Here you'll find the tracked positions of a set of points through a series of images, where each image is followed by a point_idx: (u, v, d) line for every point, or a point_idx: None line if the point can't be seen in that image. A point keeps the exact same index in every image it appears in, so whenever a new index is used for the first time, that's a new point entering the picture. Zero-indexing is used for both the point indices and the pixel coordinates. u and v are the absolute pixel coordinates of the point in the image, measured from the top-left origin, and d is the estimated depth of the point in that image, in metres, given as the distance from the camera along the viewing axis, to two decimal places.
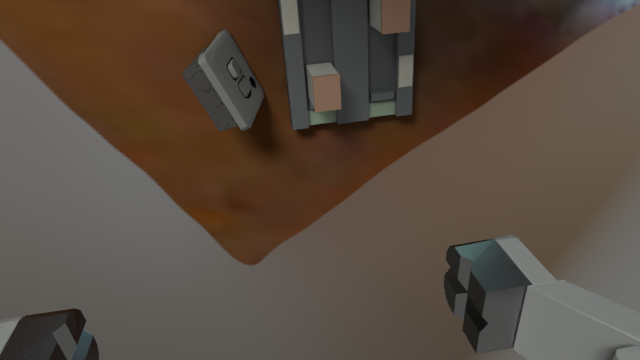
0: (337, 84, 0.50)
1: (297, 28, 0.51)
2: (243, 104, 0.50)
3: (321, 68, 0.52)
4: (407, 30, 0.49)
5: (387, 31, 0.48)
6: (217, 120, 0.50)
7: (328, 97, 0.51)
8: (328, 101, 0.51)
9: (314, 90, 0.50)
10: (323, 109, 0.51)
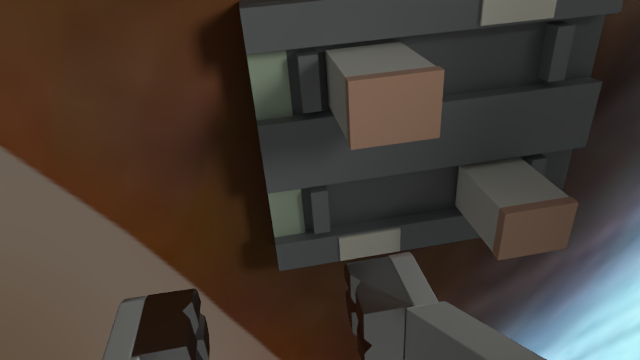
0: (416, 133, 0.20)
1: (490, 21, 0.23)
2: None
3: None
4: (500, 256, 0.24)
5: (508, 222, 0.23)
6: None
7: (385, 114, 0.19)
8: (375, 115, 0.19)
9: (410, 76, 0.18)
10: (355, 103, 0.18)
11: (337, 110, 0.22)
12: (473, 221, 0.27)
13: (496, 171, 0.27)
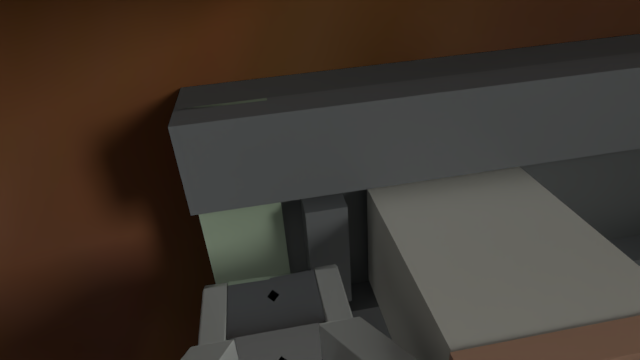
0: None
1: None
2: None
3: None
4: None
5: None
6: None
7: None
8: None
9: (636, 355, 0.06)
10: None
11: (398, 335, 0.10)
12: None
13: None
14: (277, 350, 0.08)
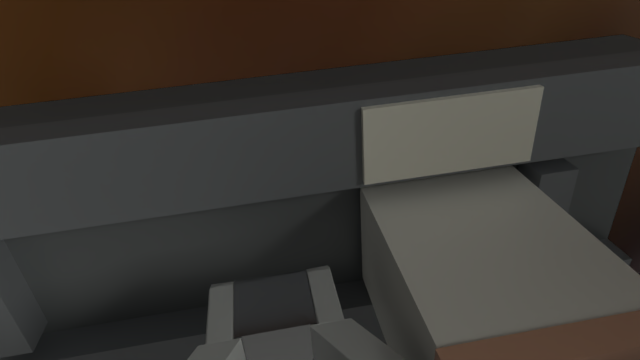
0: None
1: (386, 173, 0.10)
2: None
3: None
4: None
5: None
6: None
7: None
8: None
9: (620, 353, 0.07)
10: None
11: (390, 332, 0.10)
12: None
13: None
14: (283, 349, 0.08)
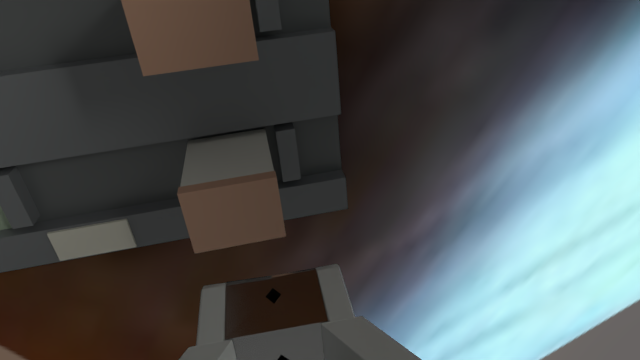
0: (226, 54, 0.16)
1: None
2: None
3: None
4: (196, 248, 0.19)
5: (186, 205, 0.18)
6: None
7: (178, 27, 0.15)
8: (165, 28, 0.15)
9: None
10: (134, 12, 0.15)
11: None
12: None
13: (221, 145, 0.22)
14: (274, 350, 0.08)
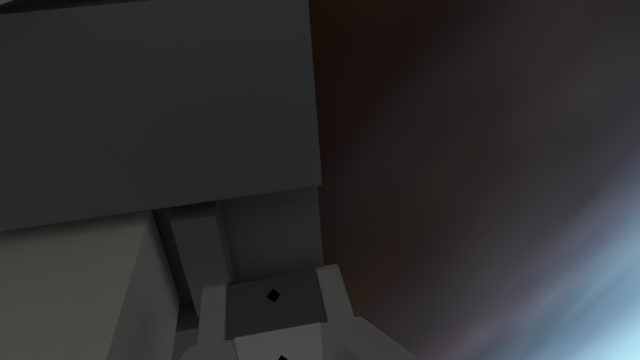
0: None
1: None
2: None
3: None
4: None
5: None
6: None
7: None
8: None
9: None
10: None
11: None
12: None
13: (27, 261, 0.09)
14: (275, 350, 0.08)
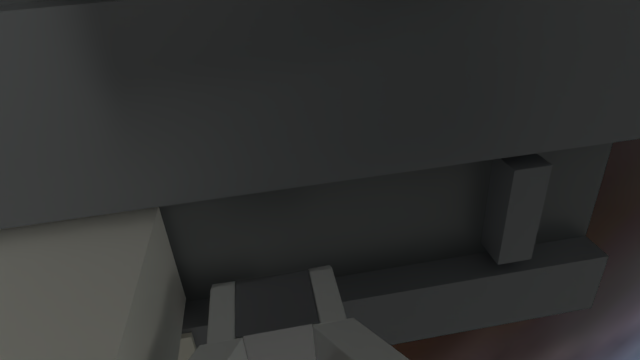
0: None
1: None
2: None
3: None
4: None
5: None
6: None
7: None
8: None
9: None
10: None
11: None
12: None
13: (35, 257, 0.09)
14: (284, 348, 0.08)
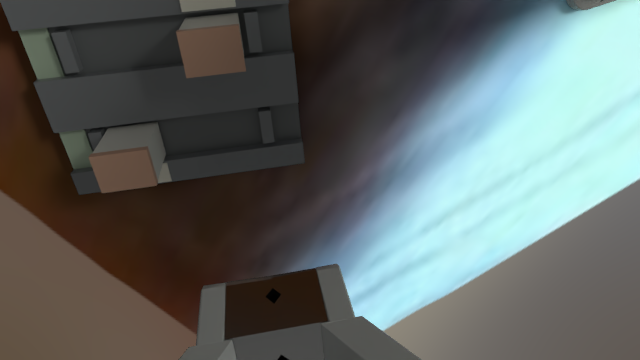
0: (229, 68, 0.31)
1: (189, 9, 0.33)
2: None
3: (241, 38, 0.33)
4: (102, 190, 0.34)
5: (94, 164, 0.32)
6: None
7: (205, 54, 0.30)
8: (198, 54, 0.30)
9: (216, 29, 0.29)
10: (184, 46, 0.30)
11: None
12: None
13: (126, 131, 0.36)
14: (275, 350, 0.08)
